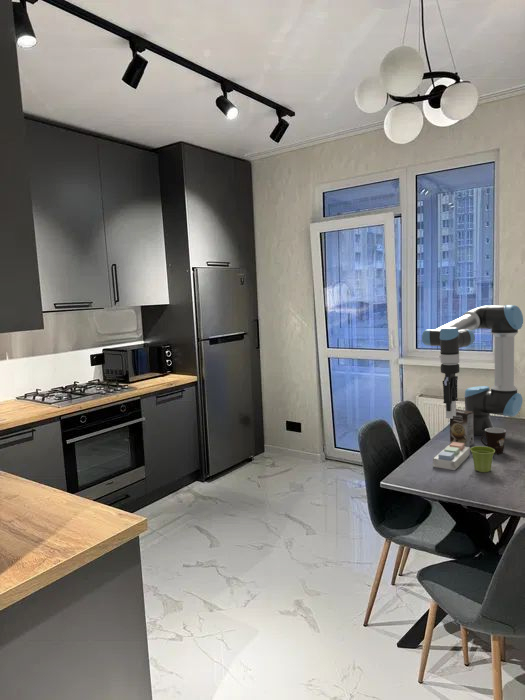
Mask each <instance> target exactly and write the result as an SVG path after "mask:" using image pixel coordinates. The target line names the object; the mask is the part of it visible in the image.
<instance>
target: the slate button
mask: <svg viewBox="0 0 525 700" xmlns="http://www.w3.org/2000/svg"><path fill="white" fill-rule="evenodd" d="M441 451H442V450H441ZM441 451H440V452H441ZM440 452H439V453H440ZM439 453H438V454H439ZM438 454H437V455H438ZM438 457H439V459H442V460H448V461H451V460H452V459H454V453H451V452H444V451H442V452H441V453H440V454H439V455H438Z"/></svg>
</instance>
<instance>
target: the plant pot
mask: <svg viewBox="0 0 525 700" xmlns="http://www.w3.org/2000/svg"><path fill="white" fill-rule="evenodd" d="M470 453H471V455H472V460H473V461H472V462H473V467H474V470H475V471H478V472H479V473H488V472H491V470H492V463H493V458H494V457H493V456H494V455H495V454H494V453H495V450H494V449H493V448H490V447H487V446H486V445H475V446H472V447H470Z"/></svg>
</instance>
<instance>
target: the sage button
mask: <svg viewBox="0 0 525 700" xmlns="http://www.w3.org/2000/svg"><path fill="white" fill-rule="evenodd" d="M446 447H447V446H446ZM446 447H444V449H443V450H444V452H451V453H454V455H456V456H457V455H458V454H459V453H460V452H459V448H456V447H447V448H446Z"/></svg>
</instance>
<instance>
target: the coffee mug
mask: <svg viewBox="0 0 525 700" xmlns="http://www.w3.org/2000/svg"><path fill="white" fill-rule="evenodd" d="M506 433H507V430H506V429H504V428H501V427H493V428H487V429H485V434H486V435H481V437H480V442H481V443H482V445H483V446H485V447H490V448H493V449H494V450H495V453H494V455H501V454H502V455H503V454H504V451H505V442H506ZM483 438H485V440H486V443H485V442H484V440H483Z"/></svg>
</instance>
